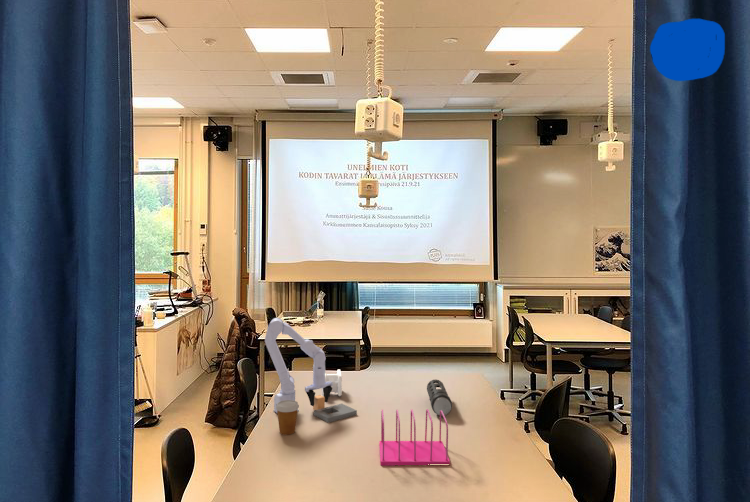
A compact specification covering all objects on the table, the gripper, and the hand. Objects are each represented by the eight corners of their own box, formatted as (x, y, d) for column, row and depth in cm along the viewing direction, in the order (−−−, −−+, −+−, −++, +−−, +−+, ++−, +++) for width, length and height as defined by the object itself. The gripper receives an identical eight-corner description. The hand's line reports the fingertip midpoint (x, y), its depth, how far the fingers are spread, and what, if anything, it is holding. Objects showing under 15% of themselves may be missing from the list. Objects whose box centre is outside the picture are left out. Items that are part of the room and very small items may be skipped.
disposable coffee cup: (293, 437, 191) (294, 408, 191) (272, 435, 193) (272, 406, 193) (302, 428, 200) (302, 400, 200) (281, 426, 202) (281, 399, 202)
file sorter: (379, 445, 185) (379, 405, 185) (442, 445, 185) (442, 406, 185) (380, 466, 167) (380, 422, 167) (450, 466, 168) (450, 422, 168)
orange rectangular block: (317, 411, 221) (317, 398, 221) (313, 408, 224) (313, 396, 224) (324, 409, 224) (324, 397, 224) (320, 407, 227) (320, 394, 227)
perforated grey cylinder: (444, 398, 241) (444, 378, 241) (452, 419, 213) (453, 396, 213) (426, 398, 241) (426, 378, 241) (431, 418, 213) (432, 396, 213)
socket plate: (327, 422, 207) (327, 418, 207) (313, 414, 216) (313, 410, 216) (356, 414, 217) (356, 410, 217) (341, 407, 226) (341, 403, 226)
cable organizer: (341, 398, 240) (342, 376, 240) (321, 399, 238) (321, 376, 238) (340, 389, 255) (340, 368, 254) (320, 390, 253) (320, 368, 253)
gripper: (310, 380, 216) (310, 409, 216) (336, 374, 225) (336, 402, 226) (302, 376, 222) (302, 405, 222) (328, 371, 231) (328, 398, 231)
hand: (319, 403), depth 224 cm, fingers open, 7 cm apart
